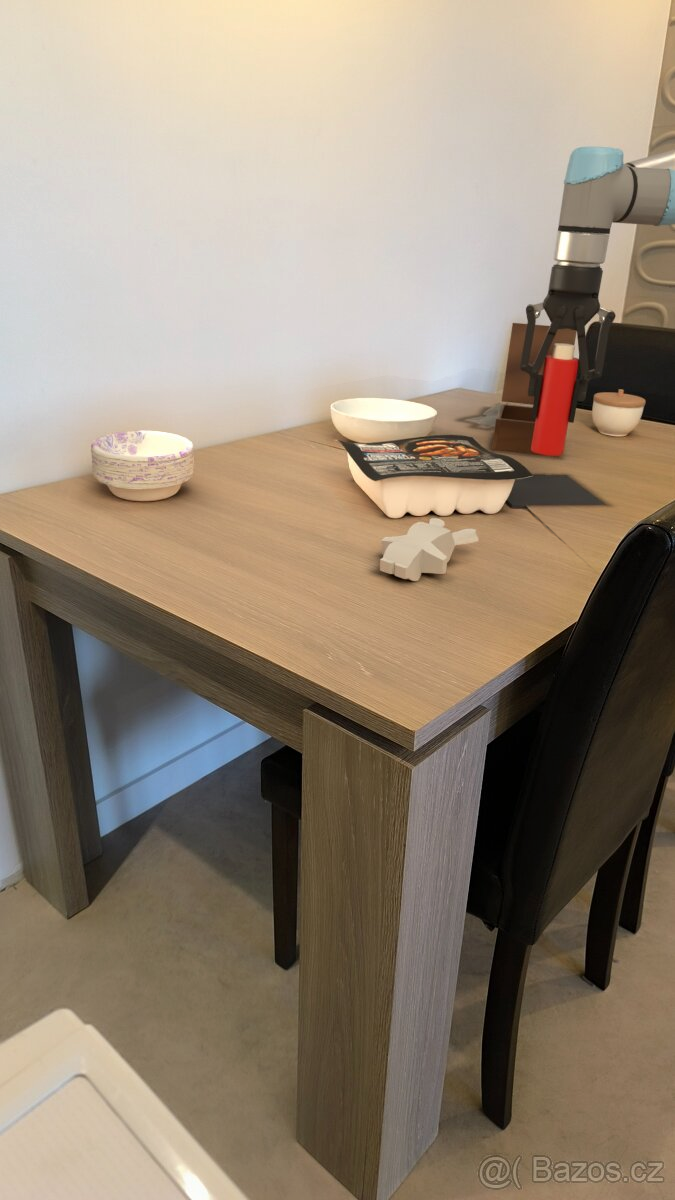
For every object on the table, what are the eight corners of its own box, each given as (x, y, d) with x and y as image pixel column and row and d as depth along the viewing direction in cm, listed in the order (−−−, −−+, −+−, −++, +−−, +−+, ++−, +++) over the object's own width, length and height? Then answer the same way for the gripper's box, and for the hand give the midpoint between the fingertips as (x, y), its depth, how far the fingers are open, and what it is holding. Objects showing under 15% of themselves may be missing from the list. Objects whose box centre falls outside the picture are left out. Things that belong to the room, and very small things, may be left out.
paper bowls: (174, 513, 121) (172, 460, 117) (77, 502, 123) (72, 450, 119) (208, 483, 134) (207, 435, 131) (119, 473, 136) (116, 426, 133)
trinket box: (632, 442, 174) (641, 397, 170) (582, 433, 179) (590, 389, 175) (642, 432, 183) (651, 389, 179) (594, 424, 187) (602, 382, 183)
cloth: (509, 436, 173) (510, 426, 172) (449, 425, 179) (450, 415, 178) (550, 416, 193) (551, 406, 192) (495, 406, 199) (496, 397, 198)
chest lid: (577, 328, 163) (577, 328, 164) (512, 322, 165) (512, 323, 166) (564, 407, 167) (564, 407, 168) (501, 401, 169) (501, 401, 170)
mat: (566, 478, 148) (566, 475, 147) (605, 508, 133) (606, 504, 133) (480, 478, 145) (480, 474, 145) (511, 508, 131) (512, 504, 130)
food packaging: (472, 433, 143) (534, 471, 123) (467, 475, 146) (526, 518, 127) (333, 435, 136) (375, 476, 117) (331, 479, 140) (371, 526, 120)
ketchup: (555, 447, 139) (573, 342, 132) (568, 456, 134) (587, 348, 127) (526, 447, 138) (542, 341, 131) (537, 455, 133) (555, 347, 126)
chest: (557, 461, 158) (563, 425, 155) (491, 453, 160) (496, 418, 157) (558, 442, 170) (563, 409, 168) (496, 436, 173) (501, 403, 170)
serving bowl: (449, 440, 168) (453, 406, 165) (408, 463, 151) (412, 426, 148) (357, 424, 176) (359, 391, 173) (309, 444, 159) (310, 409, 156)
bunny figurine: (361, 542, 103) (427, 501, 113) (362, 577, 106) (426, 535, 116) (425, 563, 98) (488, 519, 108) (424, 600, 101) (485, 553, 111)
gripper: (639, 267, 125) (609, 420, 135) (517, 259, 129) (497, 408, 139) (643, 270, 119) (611, 430, 129) (515, 261, 122) (493, 417, 132)
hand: (552, 418), depth 134 cm, fingers closed on ketchup, 5 cm apart
